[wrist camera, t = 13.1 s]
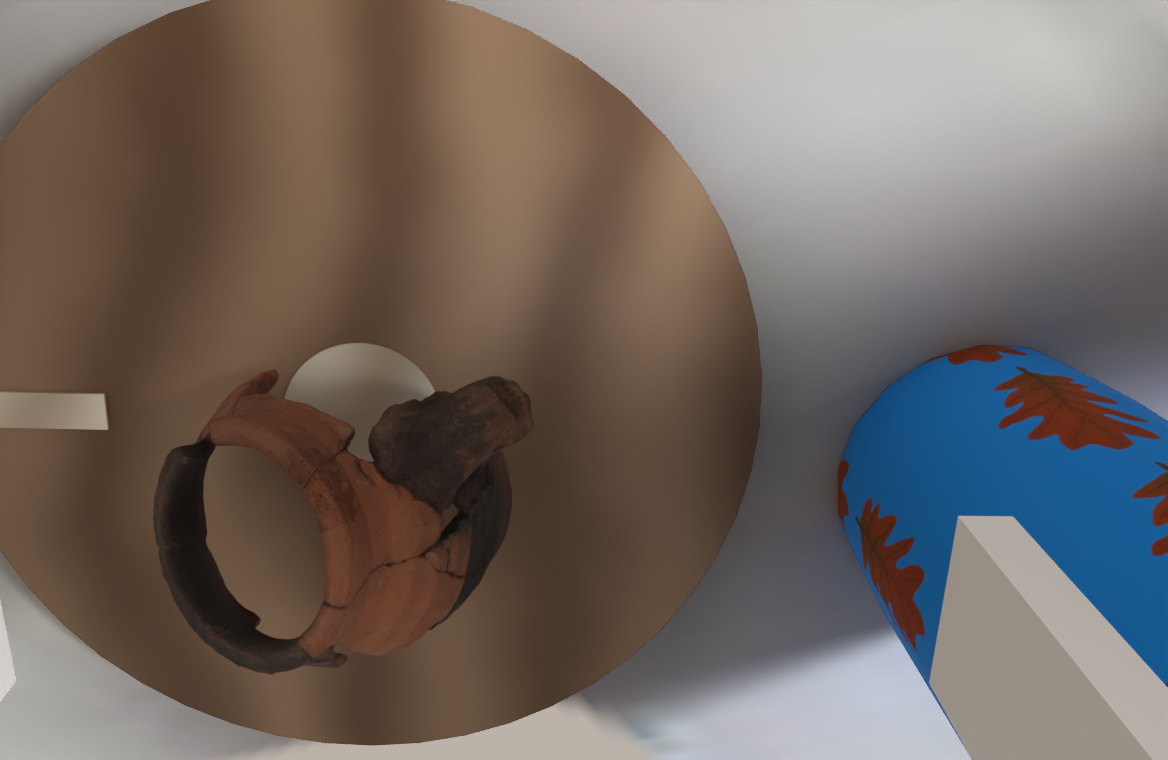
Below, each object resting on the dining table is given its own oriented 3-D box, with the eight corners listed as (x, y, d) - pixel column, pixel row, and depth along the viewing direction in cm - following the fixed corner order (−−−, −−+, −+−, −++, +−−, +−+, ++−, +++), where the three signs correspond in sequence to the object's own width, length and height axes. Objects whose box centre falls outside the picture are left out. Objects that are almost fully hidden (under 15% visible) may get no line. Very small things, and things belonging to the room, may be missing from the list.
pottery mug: (417, 648, 36) (249, 764, 29) (272, 436, 38) (77, 495, 30) (656, 463, 31) (523, 548, 24) (477, 224, 32) (299, 233, 25)
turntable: (798, 7, 30) (808, 7, 29) (718, 726, 39) (723, 746, 38) (-118, -39, 28) (-142, -41, 27) (17, 727, 37) (2, 748, 36)
